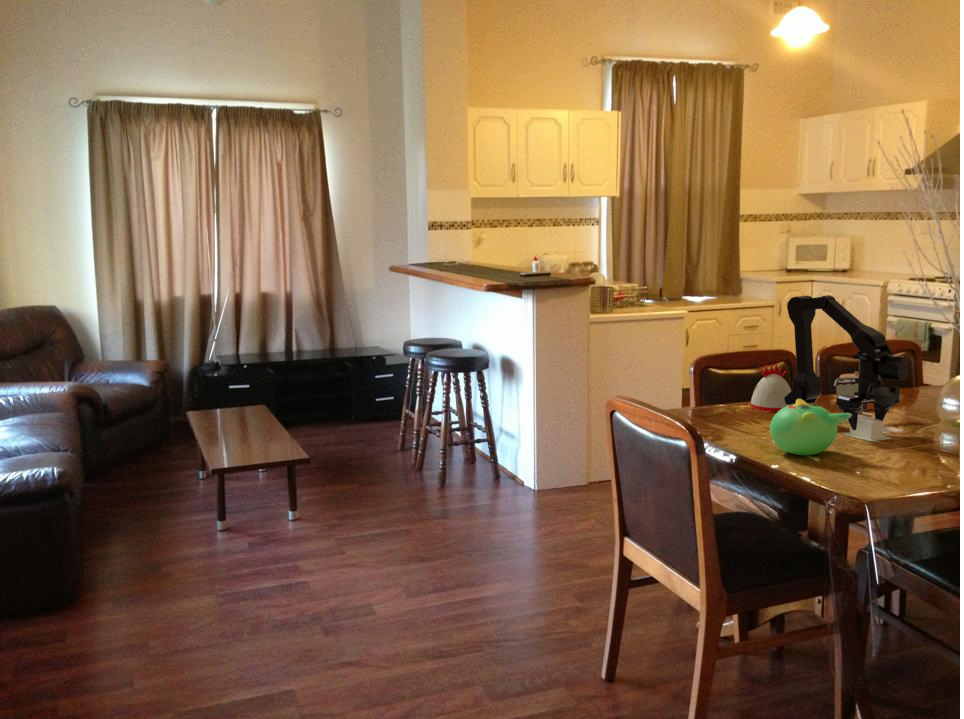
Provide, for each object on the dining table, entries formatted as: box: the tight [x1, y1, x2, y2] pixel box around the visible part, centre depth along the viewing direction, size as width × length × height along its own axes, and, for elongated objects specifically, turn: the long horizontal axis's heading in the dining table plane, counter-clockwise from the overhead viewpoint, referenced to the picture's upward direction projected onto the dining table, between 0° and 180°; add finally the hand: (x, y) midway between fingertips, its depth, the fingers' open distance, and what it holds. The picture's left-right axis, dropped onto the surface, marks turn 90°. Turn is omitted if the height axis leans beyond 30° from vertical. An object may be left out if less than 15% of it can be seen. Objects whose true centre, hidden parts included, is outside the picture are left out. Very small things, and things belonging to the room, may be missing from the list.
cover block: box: [849, 416, 885, 440], centre depth 260 cm, size 5×8×5 cm, turn 22°
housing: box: [844, 403, 905, 434], centre depth 271 cm, size 8×16×7 cm, turn 22°
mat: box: [841, 431, 892, 443], centre depth 260 cm, size 8×11×1 cm
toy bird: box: [769, 399, 852, 456], centre depth 242 cm, size 18×17×15 cm
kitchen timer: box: [750, 364, 792, 413], centre depth 299 cm, size 14×14×15 cm
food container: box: [833, 377, 869, 411], centre depth 298 cm, size 12×6×10 cm, turn 84°
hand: (866, 428), depth 260 cm, fingers open, 9 cm apart
